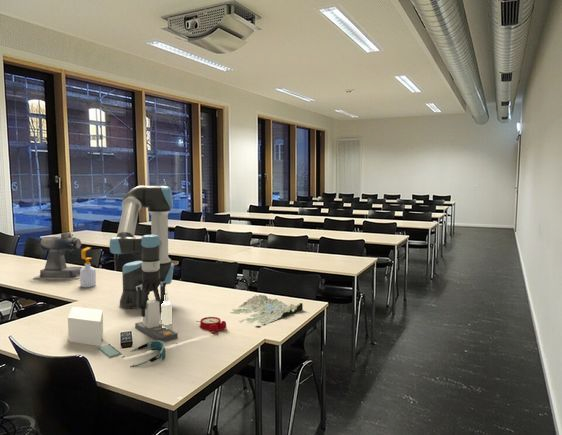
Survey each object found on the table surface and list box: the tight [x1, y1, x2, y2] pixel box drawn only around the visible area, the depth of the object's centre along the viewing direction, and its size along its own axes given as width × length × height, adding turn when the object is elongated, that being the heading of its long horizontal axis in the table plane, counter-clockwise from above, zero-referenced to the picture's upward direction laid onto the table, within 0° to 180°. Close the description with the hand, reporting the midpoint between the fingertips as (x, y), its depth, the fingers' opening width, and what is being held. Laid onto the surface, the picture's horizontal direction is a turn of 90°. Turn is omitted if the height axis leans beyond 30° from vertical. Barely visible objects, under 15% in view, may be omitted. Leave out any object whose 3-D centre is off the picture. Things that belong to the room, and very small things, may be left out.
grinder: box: [32, 232, 83, 281], centre depth 291 cm, size 18×31×31 cm, turn 91°
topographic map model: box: [229, 294, 304, 329], centre depth 216 cm, size 36×29×5 cm
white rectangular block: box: [67, 306, 104, 347], centre depth 179 cm, size 14×29×10 cm, turn 47°
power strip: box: [134, 321, 179, 343], centre depth 185 cm, size 30×8×4 cm, turn 43°
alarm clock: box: [195, 316, 227, 334], centre depth 191 cm, size 10×6×15 cm
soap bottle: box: [79, 246, 97, 288], centre depth 266 cm, size 9×9×25 cm
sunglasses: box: [121, 339, 166, 368], centre depth 159 cm, size 14×15×5 cm
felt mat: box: [97, 343, 123, 358], centre depth 167 cm, size 12×12×1 cm
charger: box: [144, 298, 160, 328], centre depth 185 cm, size 5×5×13 cm
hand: (151, 321), depth 185 cm, fingers closed on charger, 5 cm apart
